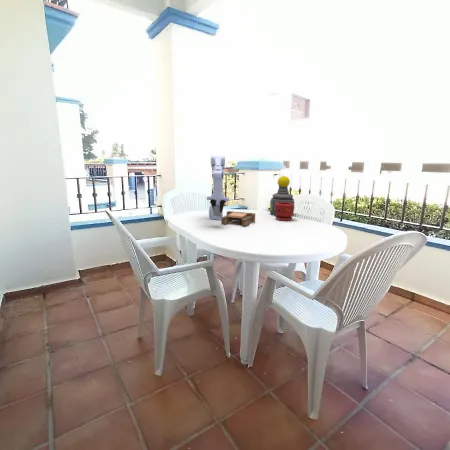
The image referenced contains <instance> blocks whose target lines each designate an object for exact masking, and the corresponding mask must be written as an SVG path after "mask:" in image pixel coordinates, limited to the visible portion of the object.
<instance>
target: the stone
mask: <svg viewBox="0 0 450 450" xmlns="http://www.w3.org/2000/svg"><path fill="white" fill-rule="evenodd" d="M221 215H222V212H220V206H218V205H216V206H214V216H221ZM222 216H223V215H222Z"/></svg>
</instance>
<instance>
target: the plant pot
mask: <svg viewBox="0 0 450 450" xmlns="http://www.w3.org/2000/svg"><path fill="white" fill-rule="evenodd" d="M286 208H287V210H286ZM283 209H284V210H283ZM275 210H276V214H277V216H275V219H276V220H278V221H282V222H285V221H286V222H288V221H291V220H292V219H293V217H292V216H293V215H294V213H293V211H294V212H295V203H294V204H293V203H285V202H279V203H276V207H275ZM289 210H290V211H289ZM292 214H293V215H292Z"/></svg>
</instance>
